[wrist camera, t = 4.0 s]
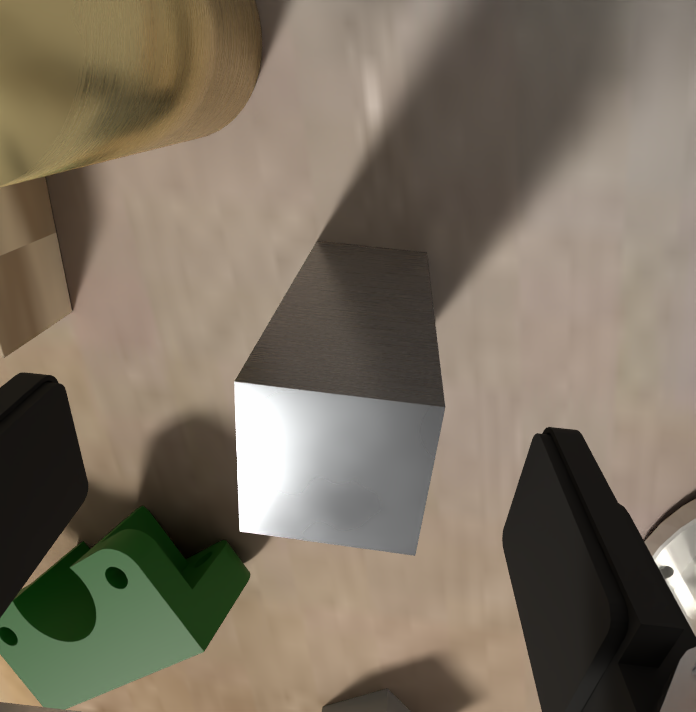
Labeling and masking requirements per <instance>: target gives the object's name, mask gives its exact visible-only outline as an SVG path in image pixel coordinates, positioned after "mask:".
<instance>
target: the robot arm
mask: <svg viewBox="0 0 696 712" xmlns="http://www.w3.org/2000/svg"><path fill="white" fill-rule="evenodd" d="M87 492H88V481H87V477H86V472H85V468H84V464H83V460H82V456H81V452H80V447H79V443H78V439H77V435H76V431H75V427H74V422H73V418H72V414H71V410H70V406H69V402H68V397H67V393H66V390H65V387H64V386H63V385H62V384H59V383H58V381H57V379H56V378H55V377H54V376H51V375H43V374H33V373H19V374H17V375H16V376H14V377H13V378H12V379H11V380H9V381H8V382H7V383H6V384H4V385H3V386H2V387H1V388H0V618H1V616H2V615H3V614H4V612H5V611H6V609H7V608H8V607H9V605H10V604H11V602H12V601H13V600H14V598H15V597H16V596H17V594H18V593H19V591H20V590H21V589H22V587H23V586H24V584H25V583H26V582H27V580H28V579H29V577H30V576H31V575H32V573H33V572H34V570H35V569H36V568H37V566H38V565H39V563H40V562H41V561H42V559H43V558H44V556H45V555H46V554H47V552H48V551H49V549H50V548H51V547H52V545H53V544H54V542H55V541H56V540H57V538H58V537H59V535H60V534H61V533H62V531H63V530H64V528H65V527H66V526H67V524H68V523H69V521H70V520H71V519H72V517H73V516H74V515H75V513H76V512H77V510H78V509H79V508H80V506H81V505H82V503H83V502H84V500H85V498H86V496H87ZM502 541H503V549H504V554H505V558H506V562H507V566H508V570H509V575H510V579H511V583H512V587H513V591H514V596H515V600H516V604H517V608H518V612H519V617H520V621H521V625H522V629H523V634H524V638H525V642H526V646H527V650H528V655H529V659H530V663H531V667H532V671H533V676H534V680H535V684H536V688H537V692H538V697H539V701H540V705H541V709H542V712H696V499H694V500H692V501H691V502H689V503H687V504H685V505H684V506H682V507H681V508H680V509H678V510H677V511H676V512H674V513H673V514H672V515H671V516H669V517H668V518H667V519H665V520H664V521H663V522H662V523H661V524H660V525H659V526H658V527H657V528H656V529H655V530H654V532H653V533H652V534H651V535H650V536H649V537H648V538H647V539H646V540H645V542H644V540H643V539H642V537H641V535H640V533H639V531H638V529H637V527H636V526H635V524H634V522H633V520H632V518H631V516H630V515H629V513H628V512H627V510H626V509H625V507H623V506H622V505H620V504H619V503H618V502H617V500H616V498H615V496H614V494H613V492H612V491H611V489H610V487H609V485H608V483H607V481H606V479H605V477H604V475H603V474H602V472H601V470H600V468H599V466H598V464H597V462H596V460H595V459H594V457H593V455H592V453H591V451H590V449H589V447H588V445H587V443H586V442H585V440H584V438H583V436H582V434H581V433H580V432H579V431H578V430H572V429H562V428H552V427H548V428H546V429H545V430H544V432H543V434H538V433H537V434H535V435H534V437H533V439H532V442H531V445H530V449H529V452H528V455H527V458H526V461H525V464H524V467H523V470H522V473H521V476H520V479H519V483H518V486H517V489H516V492H515V495H514V498H513V501H512V504H511V507H510V510H509V514H508V517H507V520H506V523H505V526H504V529H503V538H502ZM0 712H80V711H72V710H63V709H55V708H46V707H38V706H29V705H20V704H12V703H3V702H0Z"/></svg>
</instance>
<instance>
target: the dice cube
mask: <svg viewBox="0 0 696 712" xmlns="http://www.w3.org/2000/svg"><path fill="white" fill-rule="evenodd" d="M322 712H411V711H410V710H409V709H408V708H407V707H406V706H405V705H404V704H403V703H402V702H401V701H400V700H399V699H398V698H397V697H396V696H395V695H394V694H393V693H392V692H391V691H390V690H388V689H384V690H380V691H377V692H373V693H370V694H366V695H363V696H359V697H355V698H352V699H348V700H345V701H341V702H338V703H334V704H330V705H327V706H323V708H322Z"/></svg>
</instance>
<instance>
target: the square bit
mask: <svg viewBox="0 0 696 712" xmlns="http://www.w3.org/2000/svg"><path fill="white" fill-rule="evenodd" d="M234 386H235V414H236V442H237V470H238V498H239V526H240V532H247V533H254V534H262V535H269V536H276V537H283V538H291V539H298V540H305V541H312V542H320V543H327V544H334V545H342V546H349V547H356V548H363V549H371V550H378V551H385V552H392V553H400V554H407V555H414V556H415V554H416V549H417V544H418V539H419V534H420V529H421V524H422V519H423V514H424V510H425V505H426V500H427V495H428V490H429V485H430V480H431V475H432V470H433V465H434V460H435V455H436V450H437V445H438V440H439V435H440V430H441V426H442V421H443V416H444V411H445V401H444V393H443V385H442V376H441V368H440V359H439V351H438V343H437V334H436V326H435V317H434V309H433V301H432V292H431V284H430V275H429V267H428V259H427V253H425V252H415V251H406V250H396V249H387V248H377V247H367V246H358V245H348V244H339V243H329V242H320V241H317V242H316V244H315V245H314V247H313V249H312V250H311V252H310V254H309V255H308V257H307V259H306V261H305V262H304V264H303V266H302V267H301V269H300V271H299V273H298V274H297V276H296V278H295V279H294V281H293V283H292V284H291V286H290V288H289V290H288V291H287V293H286V295H285V296H284V298H283V300H282V301H281V303H280V305H279V307H278V308H277V310H276V312H275V313H274V315H273V317H272V318H271V320H270V322H269V324H268V325H267V327H266V329H265V330H264V332H263V334H262V336H261V337H260V339H259V341H258V342H257V344H256V346H255V347H254V349H253V351H252V353H251V354H250V356H249V358H248V359H247V361H246V363H245V364H244V366H243V368H242V370H241V371H240V373H239V375H238V376H237V378H236V380H235V382H234Z"/></svg>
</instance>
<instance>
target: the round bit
mask: <svg viewBox="0 0 696 712" xmlns="http://www.w3.org/2000/svg"><path fill="white" fill-rule="evenodd" d="M261 54H262V34H261V25H260V19H259V13H258V10H257V6H256V2H255V0H0V187H4V186H8V185H12V184H16V183H20V182H24V181H28V180H32V179H36V178H40V177H44V176H48V175H52V174H56V173H60V172H65V171H69V170H73V169H77V168H81V167H85V166H89V165H93V164H97V163H101V162H105V161H109V160H113V159H117V158H121V157H125V156H129V155H133V154H137V153H141V152H145V151H149V150H153V149H157V148H161V147H165V146H169V145H173V144H177V143H181V142H185V141H189V140H194V139H198V138H201V137H205V136H208V135H210V134H212V133H215V132H217V131H219V130H220V129H222V128H223V127H225V126H226V125H228V124H229V123H230V122H231V121H232V120H233V119H234V118H235V117H236V116H237V115H238V114H239V113H240V111H241V110H242V109H243V108H244V106H245V105H246V103H247V101H248V100H249V98H250V96H251V94H252V91H253V89H254V87H255V84H256V81H257V77H258V74H259V69H260V63H261Z"/></svg>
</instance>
